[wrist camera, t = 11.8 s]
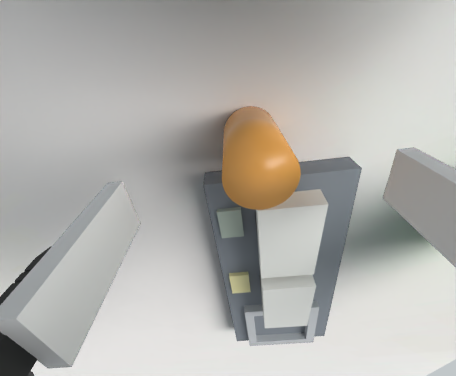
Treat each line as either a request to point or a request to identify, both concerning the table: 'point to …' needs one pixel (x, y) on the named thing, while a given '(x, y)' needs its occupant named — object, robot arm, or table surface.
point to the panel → (249, 257)
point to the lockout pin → (257, 161)
